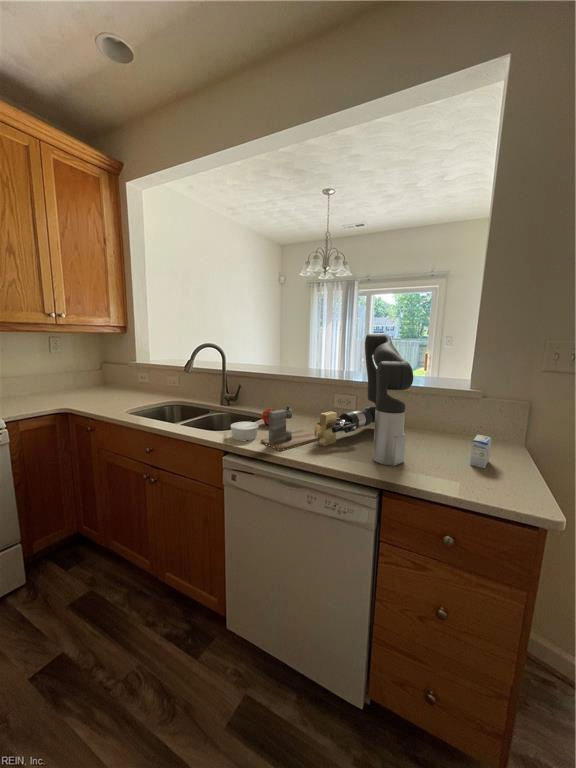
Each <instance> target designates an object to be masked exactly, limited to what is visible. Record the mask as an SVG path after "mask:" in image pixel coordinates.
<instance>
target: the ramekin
mask: <svg viewBox="0 0 576 768" xmlns="http://www.w3.org/2000/svg"><path fill="white" fill-rule="evenodd" d="M230 429H231V435H232V438H233V439H234V440H235V439H236V440H235V441H238V440H249V441H253V440H255V439H256V438H257V435H258V430H259V424H258V423H256V422H253V421H238V422H233V423H231V424H230ZM254 438H255V439H254ZM252 439H253V440H252Z"/></svg>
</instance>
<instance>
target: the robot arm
mask: <svg viewBox="0 0 576 768" xmlns="http://www.w3.org/2000/svg"><path fill="white" fill-rule="evenodd" d="M364 355H365V364H366V365H365V366H366V375H367V400H368V401H370V402H372V403H374V405H375V406H365V407H363V408H362V409H359V410H353V411H349V412H348V411H347V412H344V413H341V414H340V415H339V417H337V421H336V426H334V427H332V433H336V434H337V433H339V432H341V433H343V432H344V434H347V433H348V434H349V433H350V432H354V431H357V430H358V429H360V428H363V427H367V426H368V425H370V424H371V423H374V427H373V428H374V430H373V444H372V445H373V446H372V460H373V461H374V462H376V463H378V464H381V465H385V466H392V467H396V466H398V465H400V464H403V463H404V462H405V452H406V437H407V435H406V433H404V428H405V417H406V403H405V402H403V401H402V400H400V399H397V398H395V397H392V396H391V395H389V394H388V391H406V390H408V389H410V388H411V387H412V385H413V383H414V373H413V368H412V365H411V364H410V363H409V362H408V361H407V360H405V359H404V358H403V357H402V356H401V355H400V354H399V351H398V350H397V348H396V347H395V346H394V344H393V342H392V339H391V336H390V334H389V335H388V333H387V334H386V333H369V334H368V333H367V334H366V337H365V340H364ZM316 425H320V421H319V422H317V424H316Z"/></svg>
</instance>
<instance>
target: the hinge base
mask: <svg viewBox="0 0 576 768" xmlns="http://www.w3.org/2000/svg"><path fill="white" fill-rule="evenodd" d="M292 418H293V409H292V408H290V405H287V406H286V408H282V409H277V410H276V409H275V411H270V412H269V424H268V437H267V438H262V439H260V443H261V442H263V443H265V444H267V445H266V446H268V445H270V446H272V447H274V448H273V449H275V448H276V449H275V450H277V449H279V450H283V449H286V450H288V449H287V448H289V449H292V448H291V447H293V448H295V447H294V446H296V447H299V446H298V445H300V446H302V444H303V445H307V444H310V443H312V442H317V441H319V440H320V437H315V436H314V434H315V433H312V432H309V431H307V430H303V429H299V430H294V431H292V430H288V429H287V419H292ZM309 442H310V443H309ZM263 443H262V444H263ZM306 443H307V444H306ZM265 444H264V445H265ZM270 446H269V447H270ZM272 447H271V448H272ZM279 450H278V451H279ZM283 451H284V450H283Z"/></svg>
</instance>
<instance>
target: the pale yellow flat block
mask: <svg viewBox="0 0 576 768" xmlns="http://www.w3.org/2000/svg"><path fill="white" fill-rule="evenodd" d="M337 413H338V412H334V411H327V412H326V411H325V412H322V413H319V414H320V415H319V417H320V418H319V422H320V425H317V424H314V433H313V434H314V436H315V437H320V440H318V441H319V445H321V446H324V447H327V446H329V445H333V444H336V443H337V442H336V441H337V432H336V433H332V427H334V426H336V421H337V418H338V417H337V416H338V414H337Z"/></svg>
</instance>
